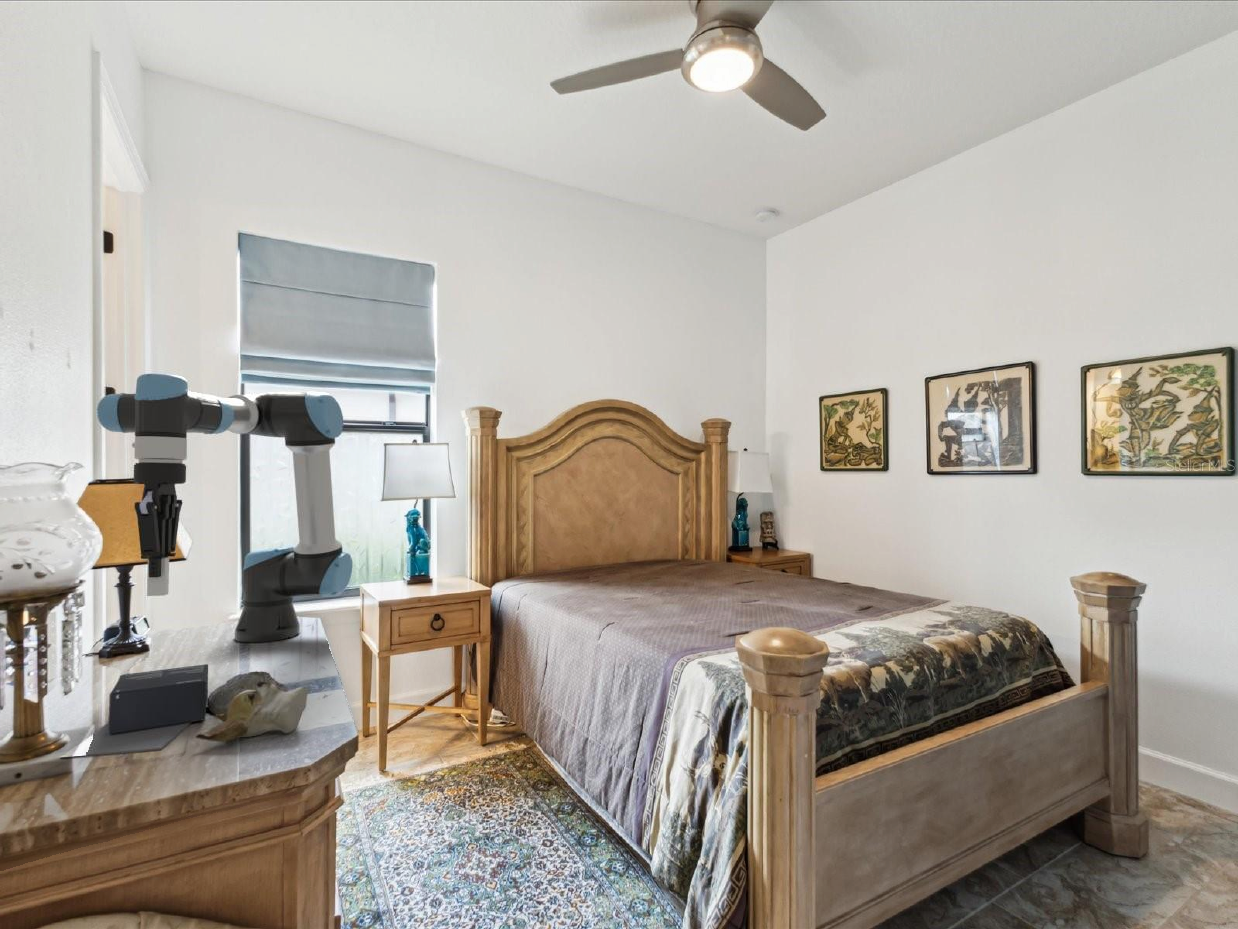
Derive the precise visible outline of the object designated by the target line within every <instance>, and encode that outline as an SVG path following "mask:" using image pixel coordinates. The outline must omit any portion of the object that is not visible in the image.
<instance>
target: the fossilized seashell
mask: <svg viewBox="0 0 1238 929" xmlns="http://www.w3.org/2000/svg"><path fill="white" fill-rule="evenodd" d="M258 682H269V683H271V684H274V685H275V686H276V687H277V688H278V690H280V691H284V692H286V688H287V686H285V683H280V682H279V681H277V680H276V679H275V678H273V677H272V676H271V674H270V672H267V671H257V670H256V671H249V672H247V673H243V674H240V673H239V674H237V675H235V676H233V677H231V678H229V679H228V680H227V681H226V683H224V684H221V685H219V686H218V687H217V688H215V689H214V690H213V691H212V692H210V693H209V694H208V699H207V706H206V707H207V708H208V710H209V711H211V713H212V714H213V715H217V714H226V713H227V709H228V706H229V704H230V702H231V701H232V700H233V698H234V697H235V696H237V695H238V694H240V693H241V692H243V691H245V690H252V689H256V687H257V684H258Z"/></svg>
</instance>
